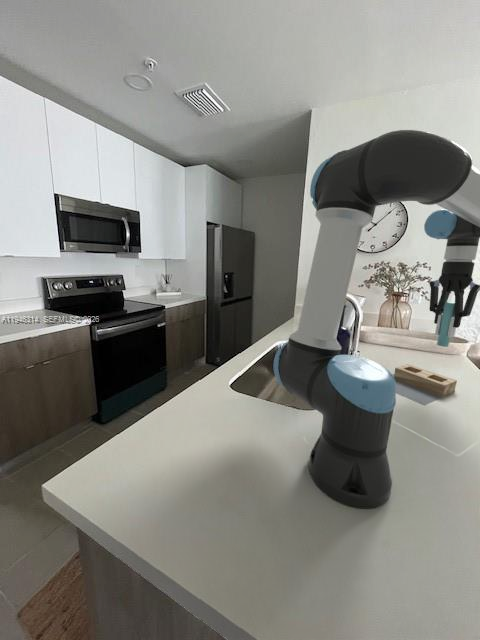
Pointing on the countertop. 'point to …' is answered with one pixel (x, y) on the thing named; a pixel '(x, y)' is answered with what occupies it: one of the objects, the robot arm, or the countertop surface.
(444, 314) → the peg
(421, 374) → the block
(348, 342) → the bottle
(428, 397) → the mat
